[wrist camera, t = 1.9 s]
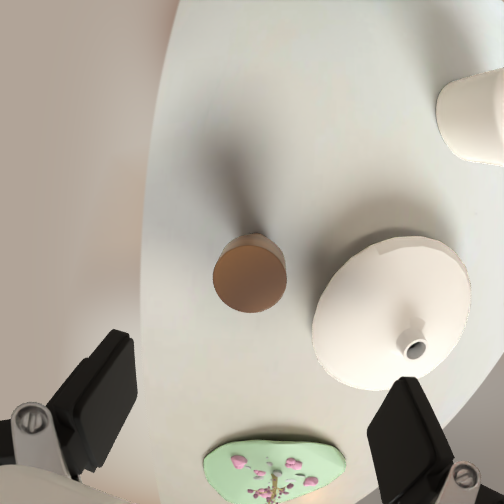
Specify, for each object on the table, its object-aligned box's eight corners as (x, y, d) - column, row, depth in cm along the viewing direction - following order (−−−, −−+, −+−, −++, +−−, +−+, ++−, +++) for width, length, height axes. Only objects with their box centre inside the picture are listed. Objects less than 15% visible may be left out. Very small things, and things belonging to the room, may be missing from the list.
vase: (349, 199, 24) (376, 218, 17) (479, 258, 24) (520, 286, 18) (283, 353, 29) (284, 404, 22) (409, 380, 29) (429, 423, 23)
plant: (308, 506, 41) (309, 545, 32) (198, 494, 41) (189, 533, 33) (367, 436, 33) (379, 490, 24) (210, 419, 33) (197, 478, 24)
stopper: (217, 239, 26) (198, 271, 19) (262, 208, 25) (258, 230, 18) (249, 281, 27) (241, 324, 20) (294, 253, 26) (300, 290, 19)
